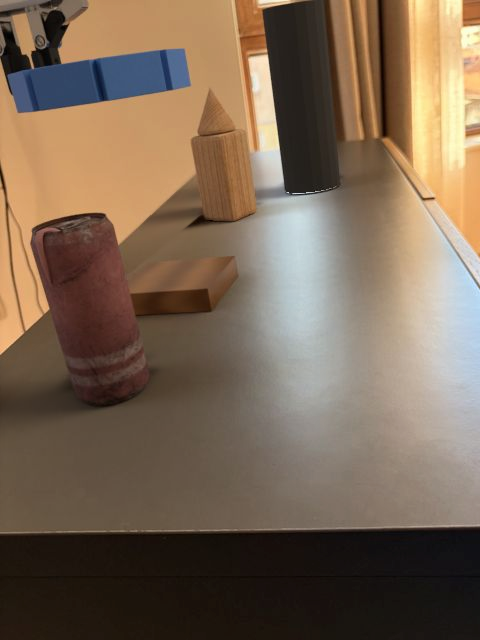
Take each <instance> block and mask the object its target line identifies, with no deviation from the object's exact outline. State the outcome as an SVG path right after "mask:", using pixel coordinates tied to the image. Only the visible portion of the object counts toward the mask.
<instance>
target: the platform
mask: <svg viewBox="0 0 480 640" xmlns="http://www.w3.org/2000/svg"><path fill="white" fill-rule="evenodd" d="M238 277H239V271H238V264H237V259H236V256H235V255H230V256H216V257H215V256H214V257H202V258H201V257H200V258H189V259H176V260H174V259H173V260H163V261H161V260H160V261H149V262H147V263H146V264H145V265H144V266H142V267H141V268H140V269H139V270H138V271H136V272H135V273H134V274H133V275H132V276H130V277H129V278H128V279H127V283H128V287H129V291H130V295H131V299H132V303H133V307H134V312H135V316H143V315H147V316H148V315H162V314H181V313H183V314H184V313H201V312H212V311H213V310H214V309H215V307H216V306H217V305H218V304H219V302H220V301H221V299H222V298H223V297H224V296H225V294H226V293H227V292H228V291H229V289H230V288H231V286H232V285H233V284H234V283H235V281H236V280H237V278H238Z"/></svg>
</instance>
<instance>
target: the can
mask: <svg viewBox="0 0 480 640" xmlns="http://www.w3.org/2000/svg"><path fill="white" fill-rule="evenodd" d="M30 230H31V237H30V241H29V245H30V248H31V252H32V255H33V258H34V262H35V265H36V269H37V271H38V275H39V279H40V282H41V285H42V289H43V292H44V295H45V299H46V302H47V305H48V308H49V312H50V315H51V319H52V322H53V325H54V328H55V332H56V335H57V339H58V343H59V345H60V349H61V352H62V355H63V359H64V363H65V366H66V368H67V372H68V375H69V379H70V382H71V386H72V389H73V392H74V395H75V396H76V397H77V398H78V399H79V400H80V401H81V402H83V403H84V404H86V405H89V406H94V407H96V406H97V407H102V406H112V405H117V404H121V403H123V402H126V401H128V400H130V399H133V398H134V397H136V396H138V395H140V394H141V393H142V392H143V391H144V390H145V389H146V388H147V385H148V383H149V380H150V377H151V374H150V370H149V367H148V366H149V365H148V361H147V358H146V353H145V350H144V345H143V341H142V337H141V333H140V329H139V324H138V321H137V317H136V316H137V315H135V312H134V307H133V303H132V299H131V295H130V291H129V287H128V283H127V280H128V279H127V275H126V270H125V267H124V263H123V258H122V254H121V251H120V250H121V249H120V246H119V242H118V241H119V240H118V238H117V234H116V229H115V226H114V223H113V222H112V221H111V220H110V219H109V217H107V214H106V213H104V212H86V213H77V214H71V215H67V216H61V217H58V218H53V219H50V220H47V221H43V222H42V223H39V224H37V225H35V226H34V227H32V228H31V229H30Z"/></svg>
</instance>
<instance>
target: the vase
mask: <svg viewBox="0 0 480 640" xmlns="http://www.w3.org/2000/svg"><path fill="white" fill-rule="evenodd" d="M325 10H326V9H325V1H324V0H301V1H295V2H289V3H284V4H279V5H273V6H270V7H265V8H263V9H262V10H261V12H262V14H261V15H262V20H263V22H262V23H263V28H264V37H265V44H266V52H267V61H268V69H269V75H270V77H269V78H270V84H271V92H272V99H273V107H274V108H273V109H274V114H275V115H274V116H275V123H276V131H277V139H278V147H279V148H278V149H279V154H280V162H281V163H280V164H281V171H282V179H283V185H284V192H285V191H286V192H289V193H306V192H315V191H321V190H326V189H329V188H333V187H335V186H338V185H339V184H340V185H341V176H340V165H339V154H338V142H337V130H336V119H335V111H334V98H333V88H332V87H333V86H332V77H331V66H330V65H331V64H330V55H329V42H328V32H327V31H328V30H327V21H326V11H325ZM340 185H339V186H340ZM339 186H338V187H339ZM286 192H285V193H286Z"/></svg>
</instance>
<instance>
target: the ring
mask: <svg viewBox="0 0 480 640" xmlns="http://www.w3.org/2000/svg"><path fill="white" fill-rule="evenodd" d="M188 66H189V65H188V60H187V55H186V49H185V48H166V49H165V48H164V49H156V50H149V51H148V50H147V51H141V52H133V53H126V54H119V55H118V54H117V55H111V56H105V57H104V56H103V57H102V56H101V57H97V58H91V59H90V58H89V59H84V60H77V61H70V62H64V63H62V64H58V65H52V66H46V67H40V68H34V67H33V68H32V69H30V70H23V71H19V72H16V73H12V74H9V75H7V76H8V80H9V83H10V87H11V91H12V94H13V96H12V97H13V101H14V104H15V108H16V112H17V113H18V114H24V113H36V112H43V111H51V110H59V109H63V108H70V107H78V106H84V105H91V104H98V103H103V102H111V101H117V100H122V99H129V98H135V97H141V96H146V95H152V94H153V95H154V94H159V93H165V92H169V91H171V92H172V91H175V90H180V89H185V88H188V87H189V88H190V87H192V84H191V83H192V82H191V78H190V72H189V67H188Z"/></svg>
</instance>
